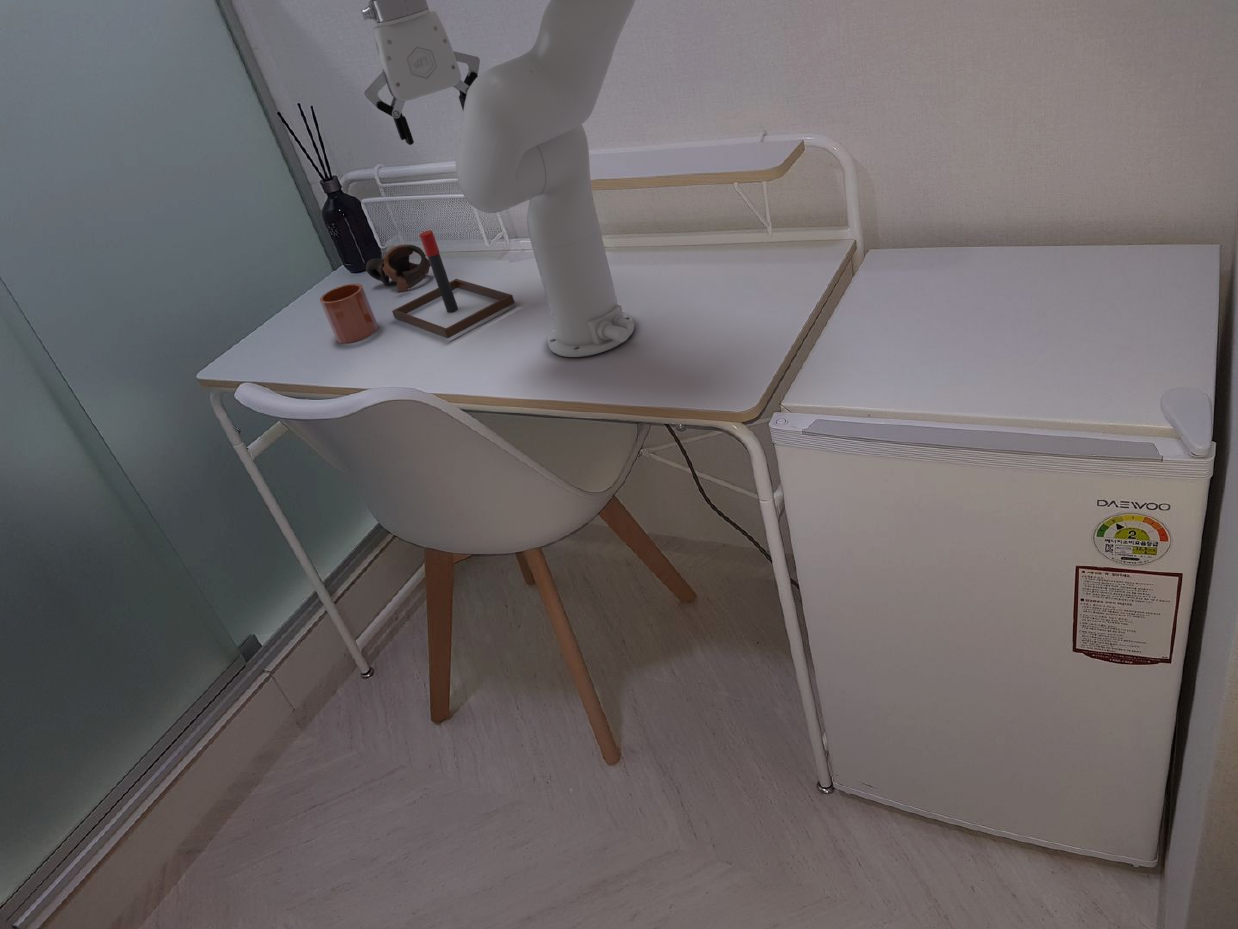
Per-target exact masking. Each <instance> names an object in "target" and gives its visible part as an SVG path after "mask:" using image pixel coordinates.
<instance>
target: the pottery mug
mask: <svg viewBox="0 0 1238 929" xmlns="http://www.w3.org/2000/svg"><path fill="white" fill-rule="evenodd" d="M414 253H416V254H418V255H419V256H420V262H419V263H414V262H410V256H411V255H413V254H414ZM430 267H431V265H430V262H429V259H428V257H427V255H426V253H425V251H423V249H422V248H421V247H419V246H417V245H413V244H400V245H397V246H393V247H392V248H390V249H389V250H388V251H387V252H386V253H385V255H384V258H377V257H375V258H371V259H369V260H368V261H367V262H366V265H365V271H366V272H367V274H368V275H369V277H371V278H373V279H374V280H377V281H379V282H381V283H383V285H384V286H385V287H387V286H389V284H390V280H391V281H392V282H393V281H394V282H395V283H396V292H397V293H405V292H409V289H412V288H413V287H415V286H416V285H417V284H419V283H421V282H423V280H424V279H426V277H427V275H428V274H429V272H430Z"/></svg>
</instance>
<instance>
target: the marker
mask: <svg viewBox="0 0 1238 929" xmlns="http://www.w3.org/2000/svg"><path fill="white" fill-rule="evenodd" d="M419 238H420V242H421V244H422V246H423V249H424V253H425V255H426V257H427V259H428V260H429V262H430V265H431V266H430V267H431V270H432V273H433V276H434V278H435V281H436V284H437V288H439V290H440V293H441V296H440V297H441V299H442V302H443V304H444V307H445V310H446V313H447V314H452V313H455V312H457V311H458V310H459V307H458V303H457V301H456V298H455V295H454V292H453V290H452V289H451V286H450V283H449V282H450V280H449V277H448V274H447V272H446V268H445V266H444V263H443V260H442V257H441V254H440V249H439V246H438V244H437V241H436V237H435V235H434V232H433V230H424V231H422V232H421V233H420V234H419Z"/></svg>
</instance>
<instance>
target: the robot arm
mask: <svg viewBox="0 0 1238 929" xmlns="http://www.w3.org/2000/svg"><path fill="white" fill-rule="evenodd" d="M635 2H636V0H549V2H548V4H547V6H546V7H545V10H544V12H543V15H542V17H541V21H540V26H539V31H538V34H537V37H536V40H535V42H534V43H533V46H532V48H531V49H530V50H529V51H527V52H525V53H523V54H522V55H520V56H518V57H515V58H512V59H510V60H508V61H505V62H502V63H499V64H496V65H494V66H492V67H490V68H488V69H486V70H484V71H483V72H481V73H480V74H479V70H480V63H481V60H480V57H478V56H475V55H471V54H466V53H463V52H458V51H454V50H453V47H452V44H451V42H450V39H449V37H448V34H447V31H446V29H445V27H444V25H443V22H442V20H441V19H440V17H439V14H438V12H437V11H436V10H435V9H434V10H433V9H431V10H430V8H429V5H428V2H427V0H368V5H367V6H366V7H365V8H362V9H361V10H360V12H361V15H362V18H363V20H364V21H367V20H372V21H374V22H375V23H376V26H374V27H373V35H374V40H375V46H376V49H377V54H378V58H379V62H380V66H381V69H382V71H381V73H380V74H379V75H378V76H377V77H376V78H375V79H374V80H373V81H372V83H371V84H369V86H368V87H367V88H366V89H364V92H363V93H364V94H363V95H364V97H366V99H367V100H369V101H370V103H372V105H373V106H374V107H375V108H377V109H378V110H379V111H381V112H383V113H385V114H387V116H390V117H392V118H393V121H394V124H395V127H396V130H397V134H398V136H399V138H400V141H405V144H408V145H409V146H411V145H414V143H415V141H414V138H413V136H412V132H411V129H410V126H409V124H408V121H407V118H406V116H405V115H403V109H404V106H405V103H406V102H407V101H412V100H416V99H418V98H422V97H424V96H428V95H431V94H434V93H438V92H440V91H443V90H447V89H450V88H455V89H456V90H457V91H458V92H459V95H458V100H459V103H460V107H461V110H462V116H461V122H460V127H459V132H458V133H459V134H458V139H457V145H456V152H455V174H456V179H457V183H458V186H459V189H460V191H461V193H462V195H463V197H464V198H465V200H466V202H468V203H469V204H470V205H471V206H472V207H473V208H474V209H476V210H477V211H480V212H482V213H486V214H497V213H501V212H504V211H507V210H509V209H511V208H514V207H516V206H518V205H520V204H523V203H525V202H527V201H528V207H527V215H526V226H527V233H528V237H529V241H530V243H531V248H532V251H533V255H534V258H535V263H536V266H537V269H538V273H539V276H540V280H541V283H542V287H543V290H544V293H545V297H546V300H547V304H548V307H549V312H550V314H551V318H552V322H553V325H554V328H553V329H552V330H551V332H550V333H549V334H548V336H547V344H548V348H549V349H550V351H551V352H553V354H556V355H558V356H561V357H565V358H566V357H567V358H568V357H569V358H581V357H589V356H593V355H597V354H598V355H599V354H601V353H604V352H607V351H609V350H612V349H615V348H616V347H617V346H619V345H621V344H623V343H625V342H626V341H627V340H628V339H629V338H630V336H632V334H633V332H634V330H635V322H634V319H633V317H632V316H631V315H630V314H629V313H628V312H626V311H623V307H622V305H619V302H618V298H617V293H616V291H615V286H614V285H615V284H614V282H613V277H612V273H611V269H610V265H609V261H608V257H607V256H608V255H607V252H606V248H605V243H604V240H603V235H602V230H601V227H600V223H599V218H598V214H597V209H596V205H595V201H594V194H593V190H592V181H591V170H590V169H591V167H590V150H589V149H590V148H589V142H588V137H587V133H586V131H585V128H584V126H583V124H584V123H585V122H586V121H587V120H589V118H590V116H592V113H593V112H594V111H593V110H594V109H595V106H596V104H597V101H598V99H599V96H600V93H601V89H602V87H603V84H604V81H605V78H606V75H607V73H608V70H609V68H610V65H611V62H612V60H613V59H612V58H613V55H614V52H615V48H616V46H617V43H618V40H619V39H620V36H621V34H622V31H623V30H624V26H625V24H626V22H627V20H628V18H629V16H630V14H631V12H632V10H633V7H634V5H635ZM458 63H463V64H466V65H467V68H468V71H467V73H466V76H465V79H464V80H462V74H461V70H460V66H459V64H458ZM386 85H387V89H388V91H389V93H390V95H391V96H392V99H391V102H390V104H388V103H386V102H384V101H383V100H382V99H381V98H380V96H379V92H380V91H381V90H382V89H383V88H384V87H385V86H386Z"/></svg>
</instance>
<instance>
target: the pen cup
mask: <svg viewBox="0 0 1238 929" xmlns="http://www.w3.org/2000/svg"><path fill="white" fill-rule="evenodd" d="M364 289H365V288H364V287H363V284H361V283H348V284H343V285H339V286H337V287H334V288H333V289H330V290H328V291H327V292H325V293H324V294H322V296H320V298H319V303H320V304H321V307H322V309H323V312H324V314H325V316H326V318H327V321H328V324H329V326H330V328H331V330H332V332H333V334H334V337H335V339H336V341H337V342H338V343H340V344H352V343H357V342H360V341H363V340H365V339H367V338H369V337H371V336H372V335H374V334H375V333H376V332H377V331H378V330H379V325H378V322H377V319H376V316H375V315H374V312H373V309H372V307H371V305H370V304H371V303H370V301H369V298H368V297H367V294H366V292H365V290H364Z"/></svg>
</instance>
